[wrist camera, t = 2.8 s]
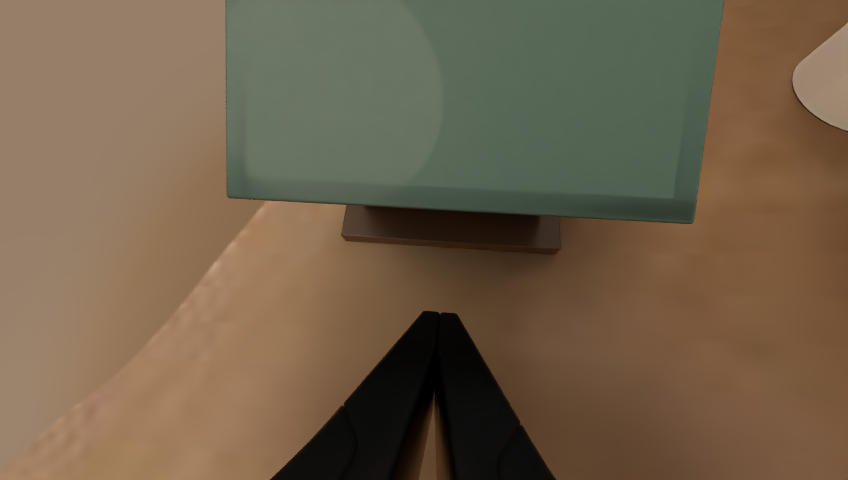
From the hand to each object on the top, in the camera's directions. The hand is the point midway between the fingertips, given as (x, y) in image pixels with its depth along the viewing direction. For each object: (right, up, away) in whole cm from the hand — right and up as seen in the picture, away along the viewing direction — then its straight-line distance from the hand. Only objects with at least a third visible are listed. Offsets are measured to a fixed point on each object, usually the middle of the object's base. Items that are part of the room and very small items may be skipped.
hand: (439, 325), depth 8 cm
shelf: (+1, +7, +11) cm, 13 cm away
